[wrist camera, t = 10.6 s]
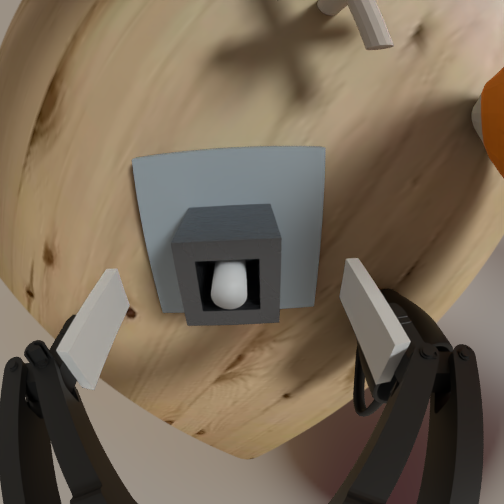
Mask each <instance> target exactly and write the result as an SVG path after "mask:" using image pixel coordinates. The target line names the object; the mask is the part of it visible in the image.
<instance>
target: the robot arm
mask: <svg viewBox="0 0 504 504" xmlns="http://www.w3.org/2000/svg"><path fill="white" fill-rule="evenodd" d="M339 298H340V300H341V302H342V305H343V307H344V309H345V311H346V313H347V316H348V318H349V320H350V323H351V325H352V327H353V330H354V332H355V334H356V337H357V339H358V341H359V344H360V346H361V349H362V351H363V353H364V356H365V358H366V361H367V363H368V366H369V368H370V371H371V373H372V376H373V378H374V381H375V384H376V385H377V384H381V383H385V382H389V381H391V379H392V377H393V375H394V374H395V376H396V378H397V381H396V383H395V385H394V386H393V388H392V390H391V391H390V393H391V395H390V397H389V399H388V402H387V404H386V406H385V408H384V411H383V412H382V415H381V417H380V419H379V421H378V423H377V425H376V427H375V429H374V431H373V433H372V435H371V437H370V439H369V440H368V442H367V444H366V446H365V448H364V450H363V451H362V453H361V455H360V456H359V458H358V460H357V462H356V463H355V465H354V467H353V468H352V470H351V471H350V473H349V475H348V476H347V478H346V479H345V481H344V482H343V484H342V485H341V487H340V488H339V490H338V491H337V493H336V494H335V496H334V497H333V498H332V500H331V501H330V502H329V503H328V504H386V502H387V499H388V498H389V496H390V494H391V492H392V490H393V489H394V487H395V485H396V483H397V481H398V479H399V477H400V475H401V473H402V470H403V468H404V466H405V464H406V462H407V459H408V457H409V455H410V452H411V450H412V448H413V445H414V443H415V440H416V437H417V435H418V432H419V429H420V427H421V424H422V421H423V418H424V415H425V412H426V409H427V405H428V402H429V399H430V419H429V432H428V442H427V451H426V458H425V466H424V471H423V477H422V483H421V487H420V492H419V496H418V501H417V504H478V503H479V497H480V489H481V481H482V468H483V412H482V399H481V389H480V381H479V374H478V368H477V362H476V356H475V353H474V351H473V350H472V349H471V348H470V347H468V346H467V345H463V344H460V345H457V346H456V347H455V348H454V350H453V351H452V352H440V351H438V349H437V348H436V347H435V346H433V345H431V344H430V343H424V341H423V339H422V338H421V336H420V334H419V333H418V331H417V330H416V328H415V326H414V325H413V323H411V320H410V318H409V317H408V315H407V314H406V312H405V311H404V309H403V308H402V307H401V306H399V305H398V304H397V303H389V304H388V303H387V301H386V300H385V298H384V296H383V295H382V293H381V292H380V290H379V289H378V287H377V285H376V284H375V282H374V281H373V279H372V278H371V276H370V275H369V273H368V272H367V270H366V269H365V267H364V266H363V264H362V263H361V261H360V260H359V259H358V258H348V259H346V261H345V267H344V273H343V279H342V285H341V291H340V296H339ZM129 306H130V305H129V302H128V299H127V297H126V294H125V291H124V288H123V285H122V282H121V278H120V275H119V272H118V269H106V271H105V272H104V273H103V275H102V276H101V278H100V279H99V281H98V282H97V284H96V285H95V287H94V288H93V290H92V291H91V293H90V294H89V296H88V297H87V299H86V301H85V302H84V304H83V305H82V307H81V308H80V310H79V312H78V313H77V315H72V316H71V317H70V318H69V319H68V320H67V321H66V323H65V324H64V326H63V329H61V331H60V334H58V336H57V338H56V339H55V341H54V343H53V345H52V346H51V348H50V350H49V349H48V348H47V346H46V345H45V343H44V342H43V341H40V340H37V341H33V342H32V343H30V344H29V345H28V346H27V347H26V349H25V352H24V356H25V357H26V358H27V360H28V361H29V363H24V362H23V361H22V359H21V358H19V357H14V358H11V359H10V360H9V361H8V362H7V364H6V366H5V369H4V375H3V382H2V390H1V398H0V481H1V490H2V497H3V503H4V504H61V500H60V496H59V491H58V487H57V482H56V477H55V471H54V465H53V458H52V450H51V443H52V446H53V449H54V452H55V455H56V458H57V460H58V463H59V465H60V468H61V470H62V473H63V475H64V477H65V479H66V482H67V484H68V486H69V488H70V491H71V493H72V496H73V498H72V499H71V500H70V504H138V503H137V502H136V501H135V500H134V499H133V498H132V496H131V495H130V493H129V492H128V490H127V489H126V487H125V486H124V484H123V482H122V481H121V479H120V478H119V476H118V474H117V473H116V471H115V469H114V468H113V466H112V464H111V462H110V460H109V458H108V457H107V455H106V453H105V451H104V449H103V447H102V445H101V443H100V441H99V439H98V437H97V435H96V433H95V431H94V429H93V426H92V424H91V422H90V420H89V417H88V415H87V413H86V411H85V408H84V406H83V403H82V401H81V398H80V395H79V393H78V390H77V389H76V387H75V384H76V381H78V383H79V384H80V385H81V387H82V388H86V389H91V390H95V387H96V384H97V381H98V379H99V376H100V374H101V371H102V368H103V366H104V363H105V361H106V358H107V356H108V353H109V351H110V349H111V346H112V344H113V341H114V339H115V337H116V334H117V332H118V330H119V328H120V325H121V323H122V321H123V319H124V316H125V314H126V312H127V310H128V308H129ZM25 397H26V400H25ZM50 440H51V442H50Z"/></svg>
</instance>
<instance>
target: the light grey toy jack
mask: <svg viewBox="0 0 504 504" xmlns="http://www.w3.org/2000/svg"><path fill="white" fill-rule="evenodd" d="M317 5H318V8H319V10H320V11H321V12H323V13H324V14H327V15H336V14H338V13H339V12H340V11H341V10H342V9H343V8H344V7H346V6H347V5H348V6H349V9H350V11H351V13H352V15H353V18H354V20H355V22H356V25H357V27H358V30H359V32H360V35H361V37H362V40H363V43H364V45H365V48H366V50H378V49H385V48H390V47H393V46H394V45H393V42H392V39H391V36H390V34H389V31H388V28H387V26H386V23H385V21H384V19H383V16H382V14H381V12H380V9H379V7H378V5H377V3H376V1H375V0H318V2H317Z"/></svg>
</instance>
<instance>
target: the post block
mask: <svg viewBox="0 0 504 504" xmlns="http://www.w3.org/2000/svg"><path fill="white" fill-rule="evenodd" d="M132 166H133V173H134V180H135V187H136V193H137V199H138V205H139V211H140V217H141V222H142V227H143V232H144V237H145V242H146V247H147V251H148V256H149V260H150V264H151V269H152V273H153V277H154V281H155V285H156V289H157V293H158V296H159V300H160V304H161V307H162V311H163V313H185V312H184V308H183V304H182V299H181V294H180V290H179V285H178V280H177V275H176V270H175V265H174V259H173V254H172V248H171V241H172V239H173V238H174V236H175V234H176V232H177V230H178V228H179V226H180V224H181V222H182V220H183V218H184V216H185V214H186V212H187V211H188V209H189V208H193V207H208V206H225V205H246V204H271V207H272V210H273V213H274V216H275V219H276V222H277V225H278V228H279V231H280V234H281V238H282V245H281V286H280V309H286V308H299V307H312V306H314V301H315V293H316V284H317V275H318V265H319V255H320V243H321V231H322V217H323V200H324V180H325V148H324V147H321V146H253V147H231V148H216V149H203V150H192V151H182V152H173V153H165V154H157V155H150V156H143V157H136V158H134V159H132ZM246 262H256V259H241V260H219V261H211V264H212V263H215V269H214V275H213V282H212V289H211V298H212V300H213V302H214V303H215V304H216V305H217V306H219V307H221V308H224V309H235V308H238V307H240V306H241V305H243V304H244V303H245V301H246V299H247V279H246Z"/></svg>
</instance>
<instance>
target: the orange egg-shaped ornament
mask: <svg viewBox="0 0 504 504" xmlns="http://www.w3.org/2000/svg"><path fill="white" fill-rule="evenodd" d="M471 114H472V123H473V126H474V128H475V130H476V132H477V134H478V135H479V137H480V139H481V140H482V142H483V144H484V147H485V149H486V151H487V154H488V156H489V158H490V160H491V161H492V163H493V164H494V165H495V167H496V168H497V170H498V171H499V173H500V174H501V175H502V177H503V178H504V67H503V68H502V69H501V70H500V71H499V72H498V73H497V74H496V75H495V76H494V77H493V78H492V79H491V80H489V81H488V82H487V83H486V84H485V86H484V88H483V91H482V93H481V95H480V97H479V99H478V101H477V102H476V104H475V105H474V107H473V110H472V113H471Z"/></svg>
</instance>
